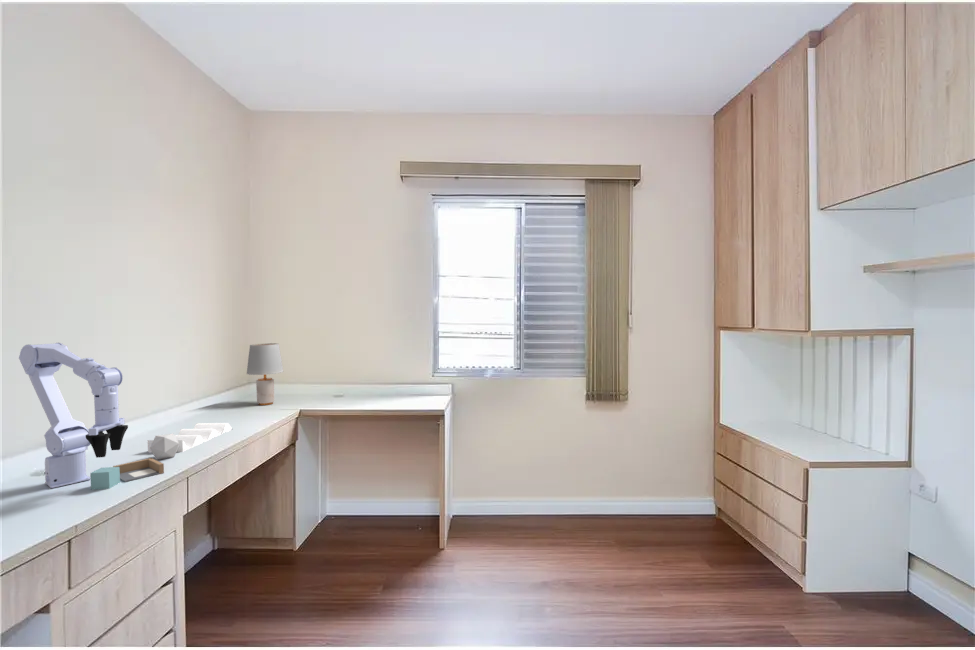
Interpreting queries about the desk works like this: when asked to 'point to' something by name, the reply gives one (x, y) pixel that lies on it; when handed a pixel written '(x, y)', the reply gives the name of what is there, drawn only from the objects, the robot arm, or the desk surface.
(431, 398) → the desk surface
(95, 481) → the cube
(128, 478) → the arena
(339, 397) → the desk surface
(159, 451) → the die
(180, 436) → the file organizer
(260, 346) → the lamp
